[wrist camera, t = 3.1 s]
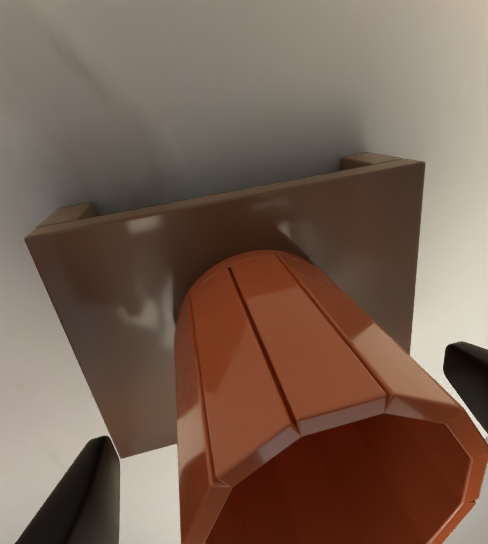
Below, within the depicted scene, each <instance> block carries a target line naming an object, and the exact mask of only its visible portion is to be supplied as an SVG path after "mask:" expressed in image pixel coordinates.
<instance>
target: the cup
mask: <svg viewBox="0 0 488 544" xmlns="http://www.w3.org/2000/svg"><path fill="white" fill-rule="evenodd" d="M174 360H175V389H176V417H177V446H178V474H179V503H180V531H181V544H442V543H443V542H444V540H445V539H446V538H447V537H448V536H449V534H450V533H451V532H452V531H453V530H454V529H455V527H456V526H457V525H458V524H459V523H460V521H461V520H462V519H463V518H464V517H465V516H466V514H467V513H468V512H469V511H470V510H471V509H472V507H473V506H474V505H475V504H476V502H475V500H476V499H478V498H479V495H480V491H481V487H482V483H483V478H484V475H485V470H486V467H487V463H488V444H487V443H486V441H485V439H484V438H483V436H482V435H481V433H480V432H479V430H478V429H477V427H476V426H475V424H474V423H473V421H472V420H471V418H470V417H469V415H468V414H467V412H466V411H465V409H464V408H463V407H462V406H461V405H460V404H459V403H458V402H457V401H456V400H455V399H454V398H453V397H452V396H451V395H449V394H448V393H447V392H446V391H445V390H444V389H443V388H442V387H441V386H440V385H439V384H438V383H437V382H436V381H435V380H434V379H433V378H432V377H431V376H430V375H429V374H428V373H427V372H426V371H425V370H424V369H423V368H422V367H421V366H420V365H419V364H418V363H417V362H416V361H415V360H414V359H413V358H412V357H411V356H409V355H408V354H407V353H406V352H405V351H404V350H403V349H402V348H401V347H400V346H399V345H398V344H397V343H396V342H395V341H394V340H393V339H392V338H391V337H390V336H389V335H388V334H387V333H386V332H385V331H384V330H383V329H382V328H381V327H380V326H379V325H378V324H377V323H376V322H375V321H374V320H373V319H372V318H371V317H369V316H368V315H367V314H366V313H365V312H364V311H363V310H362V309H361V308H360V307H359V306H358V305H357V304H356V303H355V302H354V301H353V300H352V299H351V298H350V297H349V296H348V295H347V294H346V293H345V292H344V291H343V290H342V289H341V288H340V287H339V286H338V285H337V284H336V283H335V282H334V281H333V280H332V279H331V278H329V277H328V276H327V275H326V274H325V273H324V272H323V271H322V270H321V269H320V268H318V267H317V266H315V265H313V264H312V263H310V262H309V261H307V260H305V259H304V258H302V257H300V256H297V255H295V254H292V253H288V252H284V251H279V250H255V251H248V252H244V253H241V254H237V255H234V256H232V257H230V258H227V259H225V260H223V261H221V262H220V263H218V264H216V265H214V266H213V267H212V268H210V269H209V270H208V271H206V272H205V273H204V274H203V275H202V276H201V277H200V278H199V279H198V280H197V281H196V282H195V283H194V284H193V286H192V287H191V288H190V289H189V291H188V293H187V294H186V296H185V297H184V299H183V302H182V304H181V306H180V309H179V312H178V316H177V322H176V331H175V334H174Z"/></svg>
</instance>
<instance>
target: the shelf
mask: <svg viewBox="0 0 488 544" xmlns="http://www.w3.org/2000/svg"><path fill="white" fill-rule="evenodd" d="M424 173H425V162H422V161H416V160H411V159H403V158H398V157H392V156H387V155H381V154H375V153H369V152H366V153H360V154H355V155H349V156H344V157H342V158H341V171H338V172H333V173H327V174H322V175H317V176H311V177H306V178H301V179H295V180H290V181H284V182H279V183H274V184H268V185H263V186H258V187H252V188H247V189H242V190H236V191H231V192H226V193H220V194H215V195H210V196H204V197H199V198H194V199H188V200H183V201H178V202H172V203H167V204H162V205H156V206H151V207H146V208H140V209H135V210H129V211H124V212H119V213H113V214H108V215H103V216H97V214H96V211H95V208H94V205H93V203H92V202H89V203H84V204H78V205H73V206H67V207H62V208H59V209H57V210H56V211H55V212H54V213H53V214H51V215H50V216H49V217H48V218H47V219H45V220H44V221H43V222H42V223H41V224H39V225H38V226H37V227H36V229H35V230H33V231H32V232H31V233H30V234H29V235H27V236H26V237H25V242H26V245H27V247H28V249H29V251H30V254H31V256H32V258H33V260H34V263H35V265H36V267H37V270H38V272H39V274H40V276H41V279H42V281H43V283H44V285H45V288H46V290H47V292H48V295H49V297H50V299H51V301H52V304H53V306H54V308H55V310H56V313H57V315H58V317H59V320H60V322H61V324H62V326H63V329H64V331H65V333H66V335H67V338H68V340H69V342H70V345H71V347H72V349H73V351H74V354H75V356H76V358H77V360H78V363H79V365H80V367H81V370H82V372H83V374H84V376H85V379H86V381H87V383H88V385H89V388H90V390H91V392H92V395H93V397H94V399H95V401H96V404H97V406H98V408H99V410H100V413H101V415H102V417H103V420H104V422H105V424H106V426H107V429H108V431H109V433H110V435H111V438H112V440H113V442H114V445H115V447H116V449H117V451H118V454H119V456H120V458H126V457H129V456H133V455H137V454H140V453H144V452H148V451H151V450H155V449H159V448H162V447H166V446H169V445H173V444H177V417H176V389H175V360H174V334H175V331H176V322H177V316H178V312H179V309H180V306H181V304H182V302H183V299H184V297H185V296H186V294H187V293H188V291H189V289H190V288H191V287H192V286H193V284H194V283H195V282H196V281H197V280H198V279H199V278H200V277H201V276H202V275H203V274H204V273H205V272H206V271H208V270H209V269H210V268H212V267H213V266H214V265H216V264H218V263H220V262H221V261H223V260H225V259H227V258H230V257H232V256H234V255H237V254H241V253H244V252H248V251H255V250H279V251H284V252H288V253H292V254H295V255H297V256H300V257H302V258H304V259H305V260H307V261H309V262H310V263H312V264H313V265H315V266H317V267H318V268H320V269H321V270H322V271H323V272H324V273H325V274H326V275H327V276H328V277H329V278H331V279H332V280H333V281H334V282H335V283H336V284H337V285H338V286H339V287H340V288H341V289H342V290H343V291H344V292H345V293H346V294H347V295H348V296H349V297H350V298H351V299H352V300H353V301H354V302H355V303H356V304H357V305H358V306H359V307H360V308H361V309H362V310H363V311H364V312H365V313H366V314H367V315H368V316H369V317H371V318H372V319H373V320H374V321H375V322H376V323H377V324H378V325H379V326H380V327H381V328H382V329H383V330H384V331H385V332H386V333H387V334H388V335H389V336H390V337H391V338H392V339H393V340H394V341H395V342H396V343H397V344H398V345H399V346H400V347H401V348H402V349H403V350H404V351H405V352H406V353H407V354H408V355H409V356H410V345H411V333H412V320H413V308H414V296H415V284H416V271H417V259H418V247H419V235H420V222H421V210H422V198H423V186H424Z"/></svg>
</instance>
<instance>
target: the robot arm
mask: <svg viewBox="0 0 488 544" xmlns="http://www.w3.org/2000/svg"><path fill="white" fill-rule="evenodd" d="M443 371H444V374H445V376H446V378H447V379H448V381H449V382H450V383H451V385H452V386H453V388H454V389H455V390H456V392H457V393H458V394H459V396H460V397H461V399H462V400H463V401H464V403H465V404H466V406H467V407H468V408H469V410H470V411H471V412H472V414H473V415H474V417H475V418H476V419H477V421H478V422H479V423H480V425H481V426H482V427H483V428H484V430H485V431H486V432H487V433H488V350H487V349H484V348H481V347H478V346H475V345H472V344H469V343H466V342H457V343H453V344H449V345H448V346H447V347H446V350H445V357H444V364H443ZM119 513H120V462H119V458H118V455H117V453H116V451H115V449H114V446H113V444H112V442H111V439H110V438H109V437H108V436H102V437H98V438H94V439H91V440H90V441H89V442H88V443H87V444H86V445H85V447H84V448H83V450H82V451H81V452H80V454H79V455H78V457H77V458H76V459H75V461H74V462H73V464H72V465H71V466H70V468H69V469H68V471H67V472H66V473H65V475H64V476H63V478H62V479H61V480H60V482H59V483H58V484H57V486H56V487H55V489H54V490H53V491H52V493H51V494H50V496H49V497H48V498H47V500H46V501H45V503H44V504H43V505H42V507H41V508H40V510H39V511H38V512H37V514H36V515H35V517H34V518H33V519H32V521H31V522H30V524H29V525H28V526H27V528H26V529H25V530H24V532H23V533H22V535H21V536H20V537H19V539H18V540H17V542H16V543H15V544H118V542H119Z"/></svg>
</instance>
